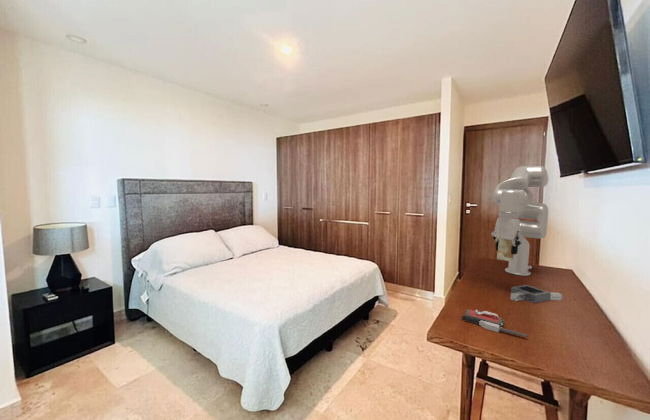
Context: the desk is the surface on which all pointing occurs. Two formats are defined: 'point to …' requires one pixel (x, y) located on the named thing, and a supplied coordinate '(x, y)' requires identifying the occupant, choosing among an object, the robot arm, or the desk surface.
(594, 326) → the desk surface
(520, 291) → the block
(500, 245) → the skincare box
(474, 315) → the toy chainsaw
